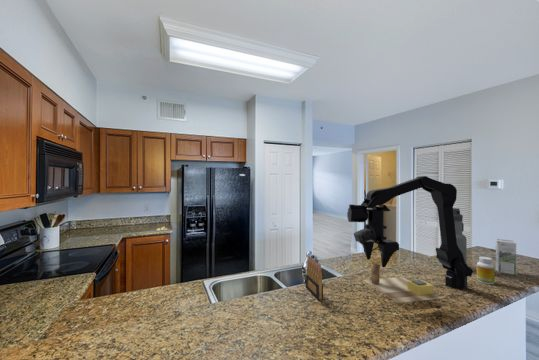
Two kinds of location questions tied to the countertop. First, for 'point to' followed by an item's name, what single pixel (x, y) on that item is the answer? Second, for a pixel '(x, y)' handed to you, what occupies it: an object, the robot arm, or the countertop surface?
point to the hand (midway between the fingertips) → (375, 263)
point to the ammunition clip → (314, 279)
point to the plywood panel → (400, 290)
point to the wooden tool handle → (375, 273)
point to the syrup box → (506, 256)
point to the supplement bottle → (485, 271)
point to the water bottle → (460, 233)
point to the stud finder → (420, 287)
